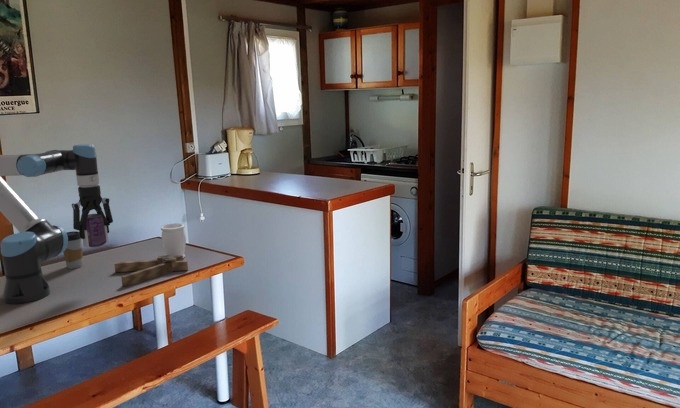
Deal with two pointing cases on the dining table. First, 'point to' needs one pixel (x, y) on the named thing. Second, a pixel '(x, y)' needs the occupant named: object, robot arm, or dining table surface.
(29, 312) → the dining table surface
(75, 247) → the coffee cup
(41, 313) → the dining table surface
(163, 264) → the tongs base
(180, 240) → the jar
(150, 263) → the tong arm
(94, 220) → the beverage can
